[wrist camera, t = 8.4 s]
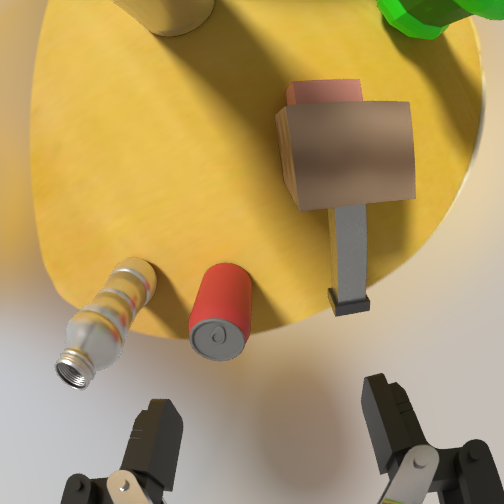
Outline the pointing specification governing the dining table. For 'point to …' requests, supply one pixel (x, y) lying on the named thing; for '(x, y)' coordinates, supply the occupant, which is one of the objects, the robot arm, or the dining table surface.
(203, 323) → the beer can
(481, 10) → the plastic bottle
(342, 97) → the spacer
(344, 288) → the shaft
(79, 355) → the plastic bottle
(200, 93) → the dining table surface
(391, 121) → the brown wooden block
